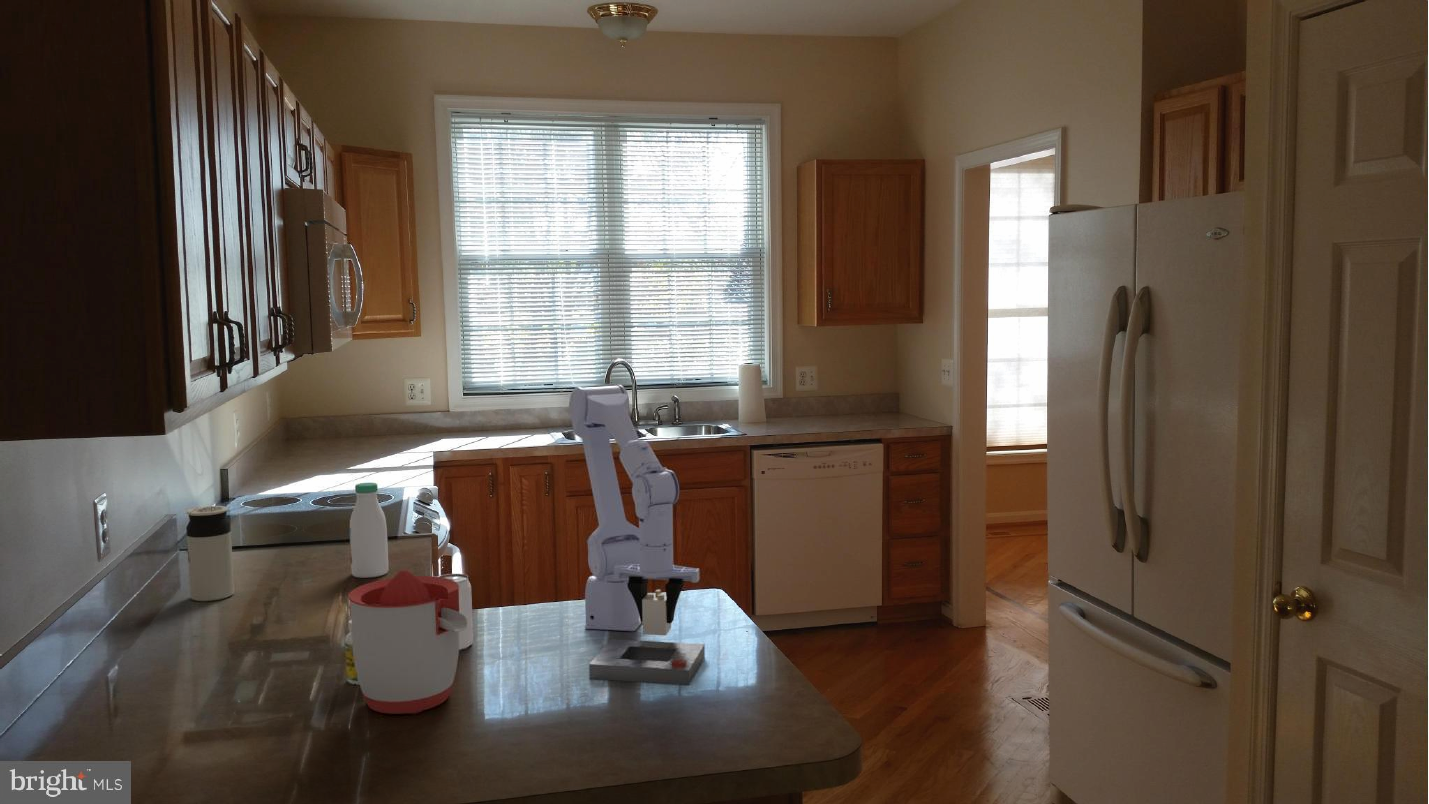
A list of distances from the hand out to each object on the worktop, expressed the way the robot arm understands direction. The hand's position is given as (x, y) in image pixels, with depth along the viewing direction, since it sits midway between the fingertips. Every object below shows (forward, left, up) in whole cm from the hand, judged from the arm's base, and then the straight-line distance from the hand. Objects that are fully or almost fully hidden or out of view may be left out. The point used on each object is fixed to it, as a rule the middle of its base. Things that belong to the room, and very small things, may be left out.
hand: (657, 620), depth 174 cm
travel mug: (-97, +15, -5) cm, 98 cm away
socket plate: (+1, -10, -5) cm, 11 cm away
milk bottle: (-74, +36, -5) cm, 82 cm away
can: (-35, -5, -5) cm, 36 cm away
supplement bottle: (-42, -22, -5) cm, 48 cm away
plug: (0, 0, -2) cm, 2 cm away
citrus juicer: (-30, -29, -5) cm, 42 cm away
